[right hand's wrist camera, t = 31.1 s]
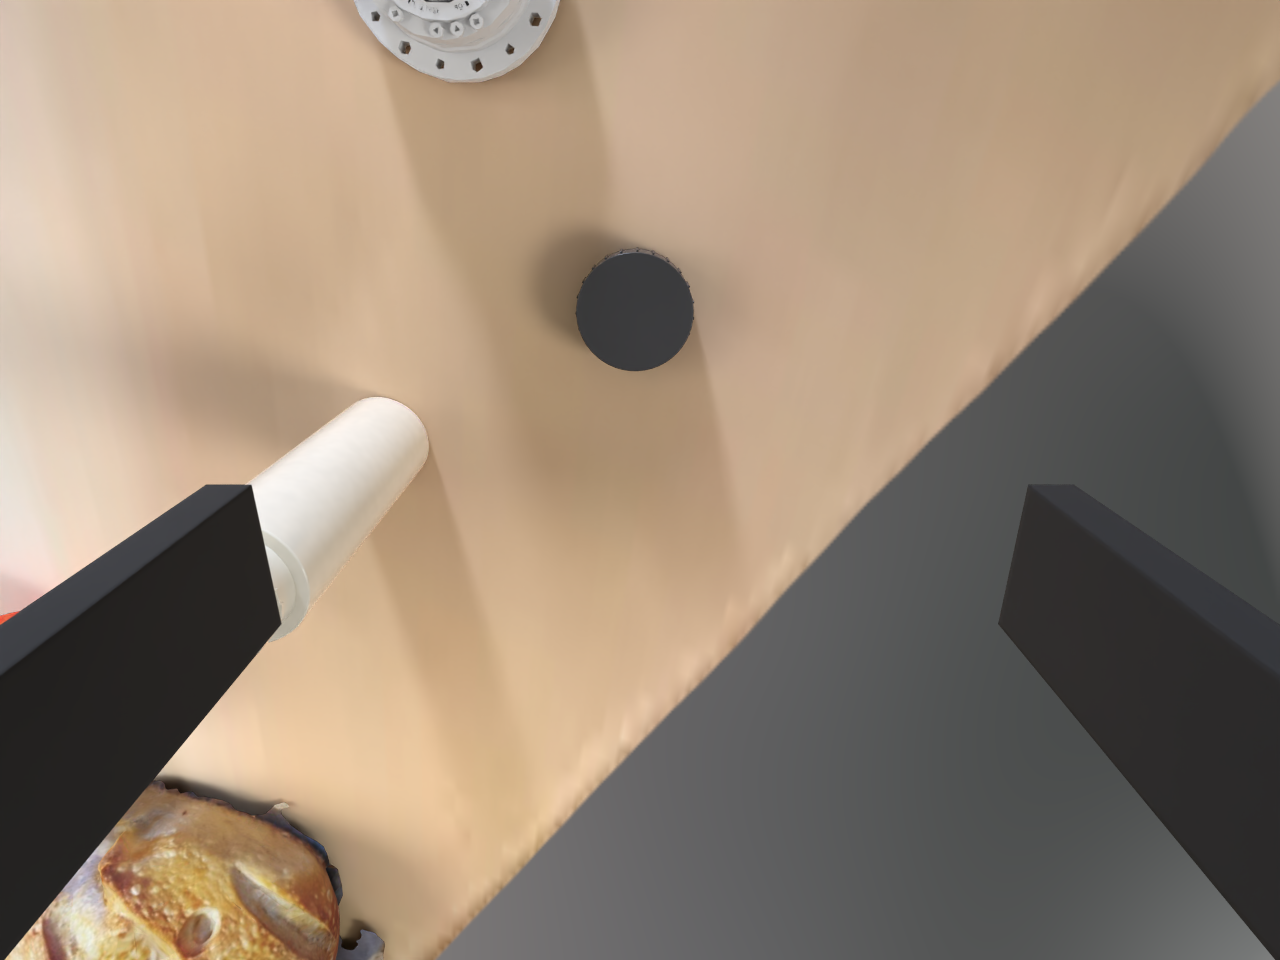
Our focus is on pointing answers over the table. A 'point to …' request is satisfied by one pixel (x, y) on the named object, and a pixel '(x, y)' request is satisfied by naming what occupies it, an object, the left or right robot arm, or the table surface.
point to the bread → (198, 890)
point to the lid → (635, 310)
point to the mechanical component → (459, 33)
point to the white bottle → (333, 498)
